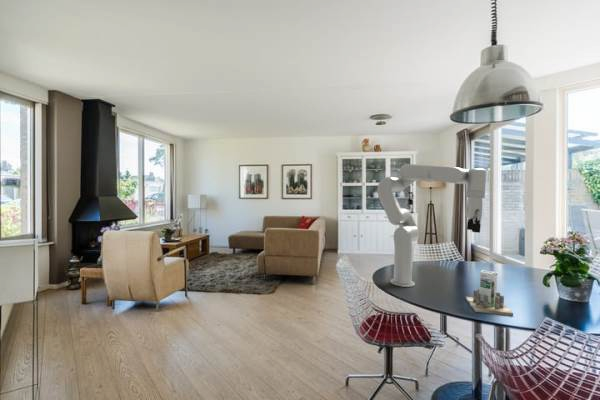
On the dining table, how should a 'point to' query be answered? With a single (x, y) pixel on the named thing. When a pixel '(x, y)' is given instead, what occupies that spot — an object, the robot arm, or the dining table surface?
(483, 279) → the syrup box
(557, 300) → the dining table surface
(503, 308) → the pin tray
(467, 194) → the robot arm
